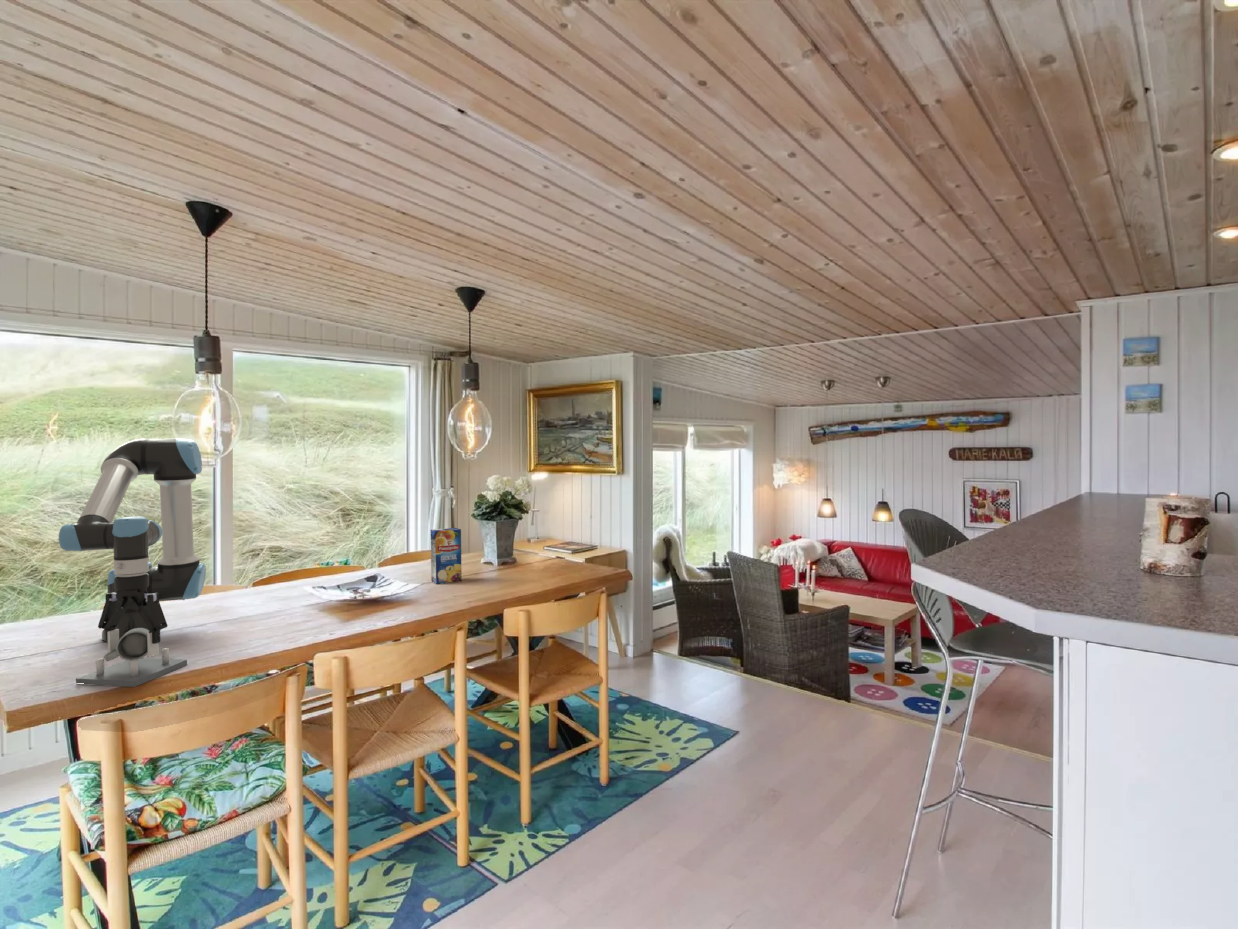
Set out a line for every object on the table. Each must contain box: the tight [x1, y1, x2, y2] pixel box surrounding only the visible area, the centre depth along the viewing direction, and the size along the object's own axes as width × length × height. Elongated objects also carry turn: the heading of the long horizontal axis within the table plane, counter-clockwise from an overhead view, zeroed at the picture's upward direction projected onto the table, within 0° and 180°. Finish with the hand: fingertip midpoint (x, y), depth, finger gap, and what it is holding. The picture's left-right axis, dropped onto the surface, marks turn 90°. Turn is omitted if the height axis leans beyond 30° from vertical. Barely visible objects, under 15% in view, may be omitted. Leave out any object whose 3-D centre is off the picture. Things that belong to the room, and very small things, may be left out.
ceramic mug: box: [103, 628, 149, 662], centre depth 174 cm, size 11×8×8 cm
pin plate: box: [75, 647, 188, 688], centre depth 174 cm, size 17×17×6 cm
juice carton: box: [430, 527, 463, 585], centre depth 296 cm, size 12×8×24 cm, turn 123°
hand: (133, 654), depth 174 cm, fingers closed on ceramic mug, 11 cm apart
